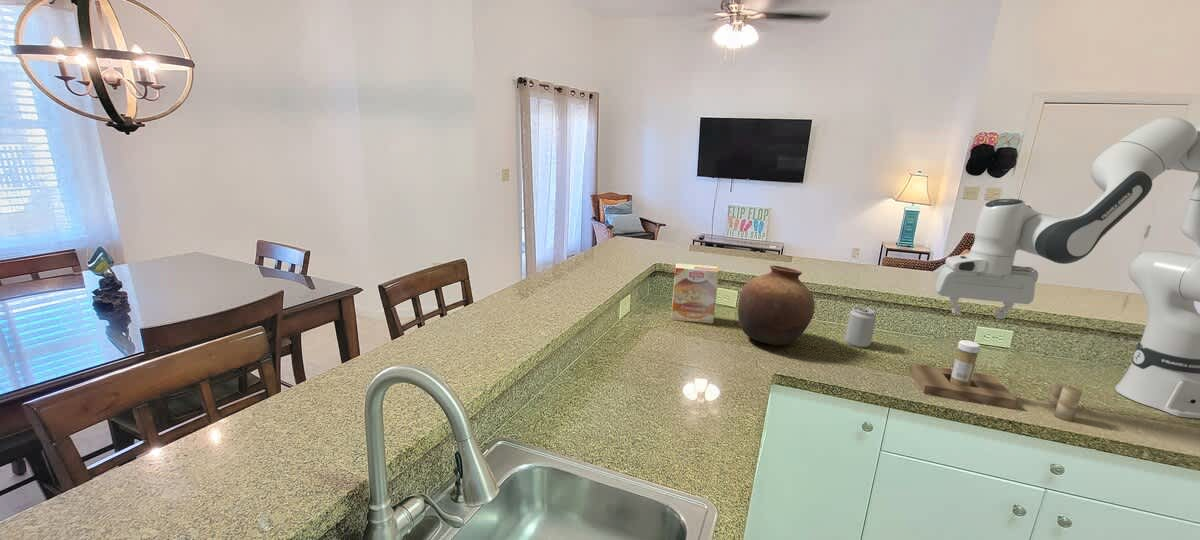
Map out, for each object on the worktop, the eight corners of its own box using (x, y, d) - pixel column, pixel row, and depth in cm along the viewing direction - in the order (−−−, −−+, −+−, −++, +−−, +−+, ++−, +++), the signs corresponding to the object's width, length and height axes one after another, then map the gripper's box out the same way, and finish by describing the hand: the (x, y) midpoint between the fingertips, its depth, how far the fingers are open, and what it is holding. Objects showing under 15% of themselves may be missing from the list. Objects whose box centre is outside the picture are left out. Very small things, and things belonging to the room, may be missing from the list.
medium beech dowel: (1069, 415, 119) (1078, 388, 117) (1075, 422, 116) (1084, 394, 114) (1052, 411, 120) (1060, 385, 118) (1057, 418, 117) (1065, 391, 115)
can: (871, 343, 159) (877, 308, 156) (869, 350, 153) (876, 315, 150) (845, 337, 163) (852, 303, 160) (843, 344, 157) (849, 309, 153)
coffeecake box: (670, 320, 172) (675, 267, 167) (671, 313, 179) (675, 262, 174) (713, 324, 170) (719, 270, 165) (712, 317, 177) (717, 265, 172)
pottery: (729, 347, 151) (739, 270, 145) (739, 323, 172) (747, 255, 165) (808, 362, 143) (821, 281, 136) (808, 334, 164) (819, 263, 157)
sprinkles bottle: (971, 390, 129) (984, 344, 126) (963, 394, 127) (975, 347, 124) (952, 383, 133) (964, 338, 130) (944, 387, 131) (955, 341, 127)
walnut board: (990, 383, 134) (992, 375, 133) (1014, 409, 121) (1017, 400, 120) (908, 370, 140) (910, 362, 139) (923, 393, 127) (925, 385, 126)
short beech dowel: (1062, 403, 125) (1067, 385, 124) (1069, 409, 122) (1075, 391, 121) (1046, 400, 126) (1051, 383, 125) (1053, 406, 123) (1058, 389, 122)
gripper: (1033, 264, 121) (1020, 316, 125) (939, 257, 127) (928, 306, 131) (1047, 271, 115) (1032, 325, 119) (947, 263, 121) (936, 314, 125)
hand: (977, 315), depth 125 cm, fingers open, 8 cm apart
